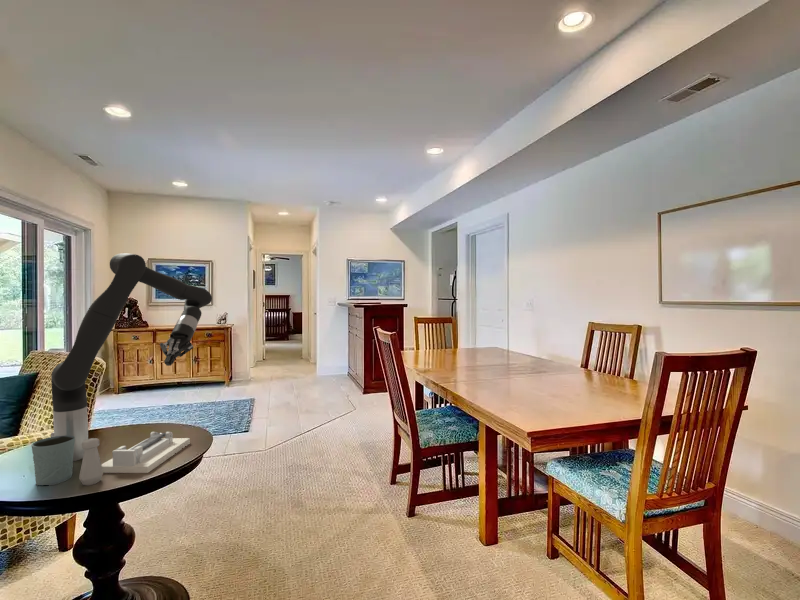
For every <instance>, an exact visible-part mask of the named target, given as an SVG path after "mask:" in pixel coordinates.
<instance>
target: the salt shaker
mask: <svg viewBox="0 0 800 600" xmlns="http://www.w3.org/2000/svg"><path fill="white" fill-rule="evenodd" d="M99 446H100V439H99V438H98V437H97V438H96V437H95V438H94V437H91V438H88V439H87V440H84V441H83V442H82V449H84V455H83V458H82V459H81V460H82V462H81V466H80V471H79V475H78V478H79V481H80V483H82V486H92V485H95V484H97V483H99V482H101V480H102V477H103V476H104V475H103V474H104V473H103V470H102V465H101V464H102V461H101V458H100V453H99V449H98V447H99Z"/></svg>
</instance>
